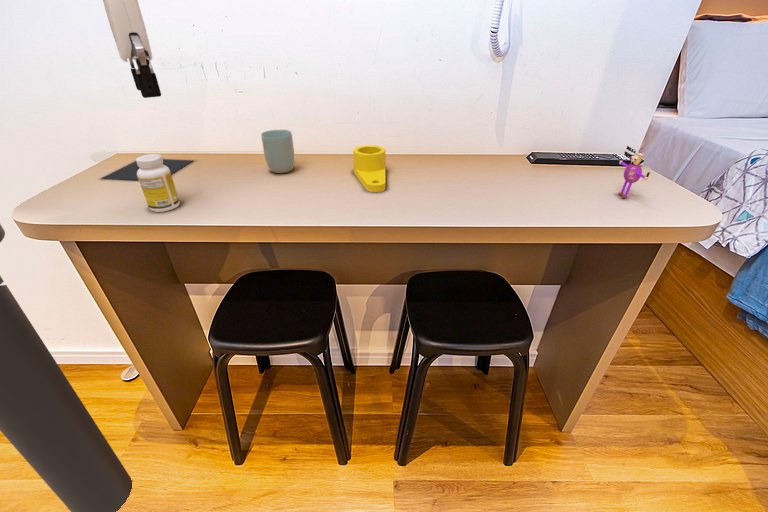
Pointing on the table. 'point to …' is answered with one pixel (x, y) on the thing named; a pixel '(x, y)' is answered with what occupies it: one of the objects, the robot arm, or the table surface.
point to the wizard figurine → (632, 170)
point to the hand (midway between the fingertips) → (149, 93)
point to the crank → (370, 167)
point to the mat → (131, 169)
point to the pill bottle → (157, 183)
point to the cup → (278, 150)
